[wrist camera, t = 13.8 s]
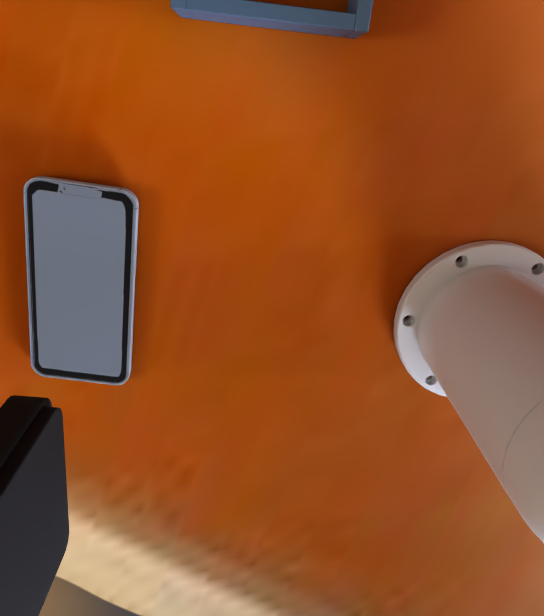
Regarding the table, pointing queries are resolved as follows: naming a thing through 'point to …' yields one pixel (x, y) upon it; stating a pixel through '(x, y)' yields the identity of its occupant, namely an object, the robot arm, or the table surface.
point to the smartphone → (80, 278)
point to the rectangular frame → (281, 16)
